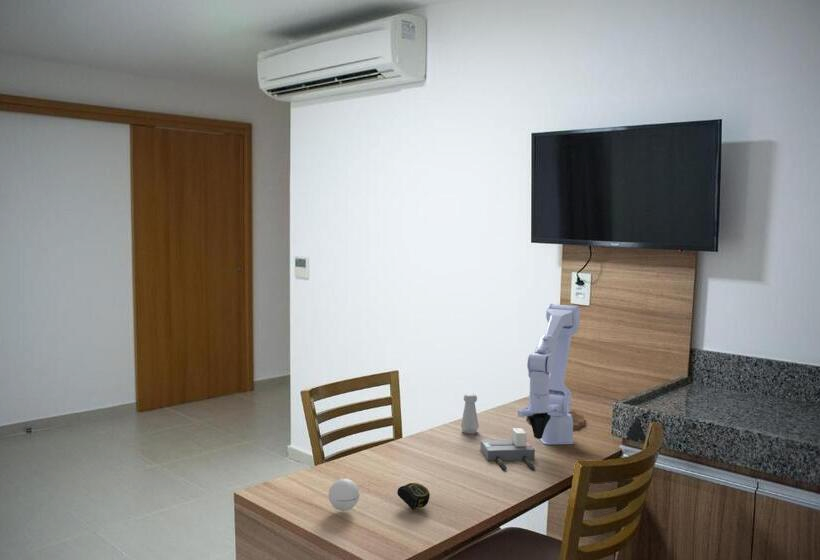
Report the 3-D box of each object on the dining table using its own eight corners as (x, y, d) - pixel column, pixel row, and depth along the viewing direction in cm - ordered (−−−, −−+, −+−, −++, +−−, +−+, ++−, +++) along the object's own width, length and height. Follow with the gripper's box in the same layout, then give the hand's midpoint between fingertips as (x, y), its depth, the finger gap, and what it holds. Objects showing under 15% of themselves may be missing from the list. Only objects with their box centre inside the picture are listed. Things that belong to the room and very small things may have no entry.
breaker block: (525, 448, 208) (525, 438, 208) (534, 459, 198) (534, 449, 198) (480, 449, 206) (480, 439, 206) (487, 460, 196) (487, 450, 196)
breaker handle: (521, 441, 205) (521, 428, 205) (526, 446, 200) (526, 433, 200) (511, 441, 204) (512, 428, 204) (516, 446, 200) (516, 433, 199)
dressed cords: (526, 459, 198) (526, 455, 198) (535, 470, 189) (535, 465, 189) (495, 459, 197) (495, 455, 197) (502, 470, 188) (502, 466, 188)
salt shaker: (478, 430, 226) (479, 392, 225) (478, 436, 220) (479, 396, 219) (461, 430, 226) (461, 391, 225) (460, 435, 221) (461, 396, 220)
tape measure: (394, 497, 165) (397, 483, 164) (417, 493, 169) (420, 479, 168) (409, 513, 159) (413, 499, 159) (432, 508, 163) (436, 495, 162)
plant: (589, 419, 243) (590, 389, 242) (580, 434, 225) (581, 401, 224) (533, 413, 250) (534, 383, 250) (521, 426, 232) (522, 394, 232)
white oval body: (327, 516, 157) (328, 485, 156) (328, 503, 164) (328, 474, 163) (371, 515, 158) (371, 484, 157) (369, 502, 165) (370, 473, 164)
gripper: (548, 387, 209) (547, 431, 210) (511, 393, 201) (510, 437, 202) (564, 392, 203) (563, 437, 204) (527, 398, 195) (526, 444, 196)
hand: (538, 437), depth 203 cm, fingers closed
